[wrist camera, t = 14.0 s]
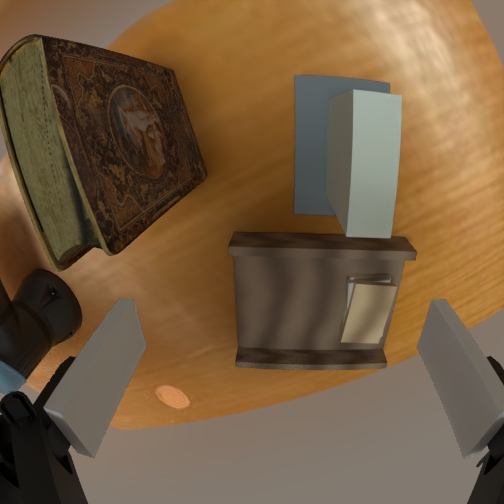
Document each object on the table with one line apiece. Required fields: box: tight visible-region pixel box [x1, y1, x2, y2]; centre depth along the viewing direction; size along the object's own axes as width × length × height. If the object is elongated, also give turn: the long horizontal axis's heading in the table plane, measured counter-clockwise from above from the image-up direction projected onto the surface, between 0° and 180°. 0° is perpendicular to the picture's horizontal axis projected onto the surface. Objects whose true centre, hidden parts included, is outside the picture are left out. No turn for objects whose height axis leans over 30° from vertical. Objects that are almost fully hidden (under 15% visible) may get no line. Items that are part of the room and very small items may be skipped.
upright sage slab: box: [325, 90, 402, 238], centre depth 29 cm, size 4×12×15 cm, turn 1°
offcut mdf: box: [345, 277, 390, 337], centre depth 42 cm, size 6×10×1 cm, turn 6°
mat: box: [294, 75, 390, 216], centre depth 36 cm, size 12×18×1 cm, turn 1°
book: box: [0, 34, 207, 272], centre depth 26 cm, size 16×6×25 cm, turn 17°
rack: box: [228, 232, 417, 370], centre depth 44 cm, size 24×20×5 cm
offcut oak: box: [340, 280, 397, 343], centre depth 41 cm, size 6×10×1 cm, turn 177°
